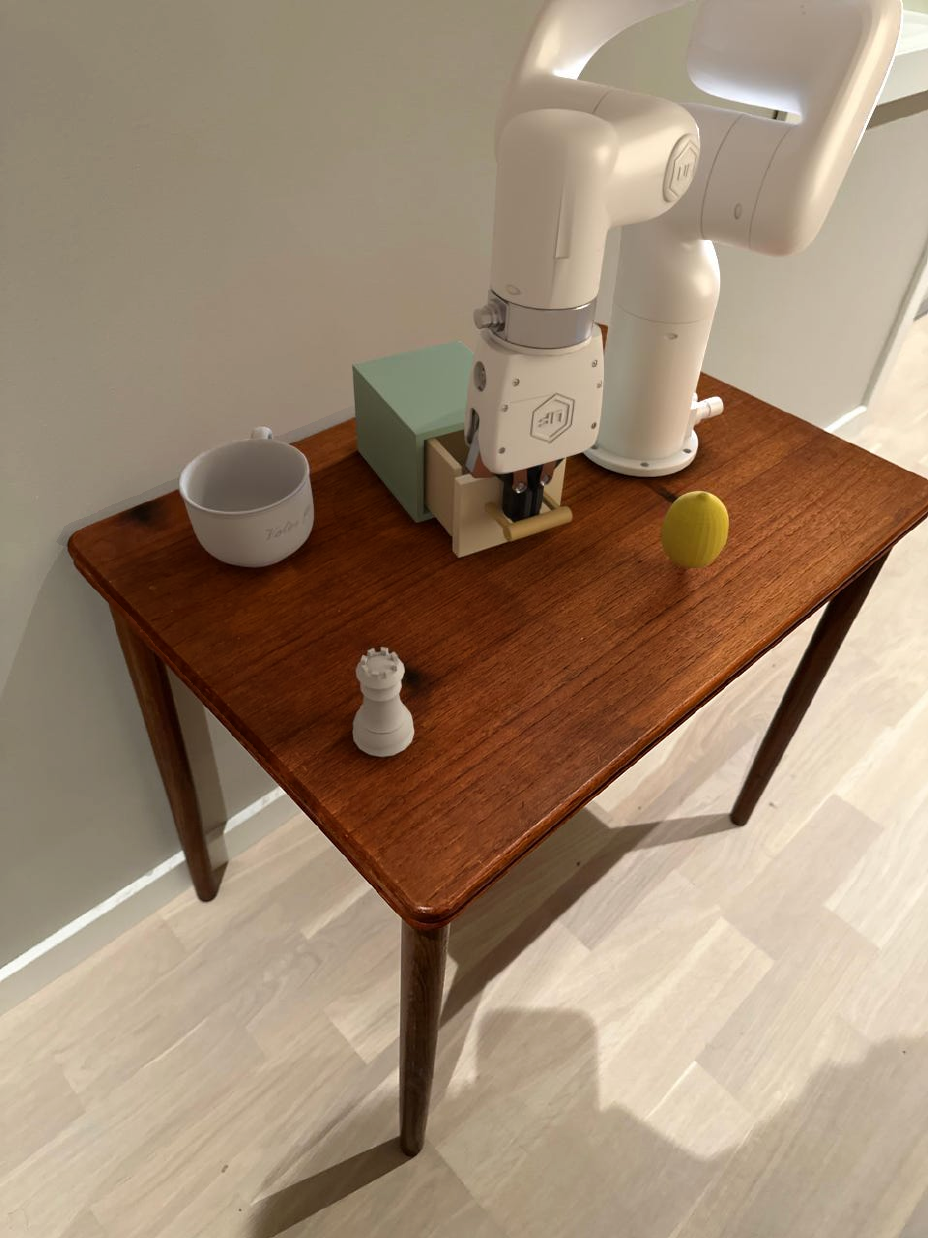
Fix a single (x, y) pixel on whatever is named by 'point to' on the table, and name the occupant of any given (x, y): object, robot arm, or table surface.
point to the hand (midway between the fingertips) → (520, 518)
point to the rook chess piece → (382, 706)
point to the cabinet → (409, 414)
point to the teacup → (249, 499)
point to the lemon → (695, 529)
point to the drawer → (480, 499)
